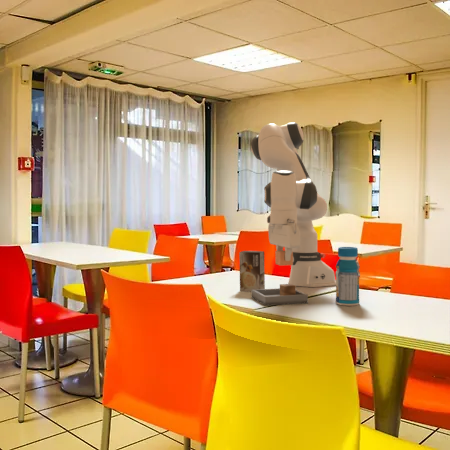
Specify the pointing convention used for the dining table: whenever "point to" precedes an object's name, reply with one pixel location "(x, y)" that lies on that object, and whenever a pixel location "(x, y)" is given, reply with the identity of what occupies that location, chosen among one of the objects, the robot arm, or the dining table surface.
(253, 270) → the coffee box
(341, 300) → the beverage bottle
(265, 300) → the tray
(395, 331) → the dining table surface
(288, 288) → the walnut block
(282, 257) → the terracotta block
